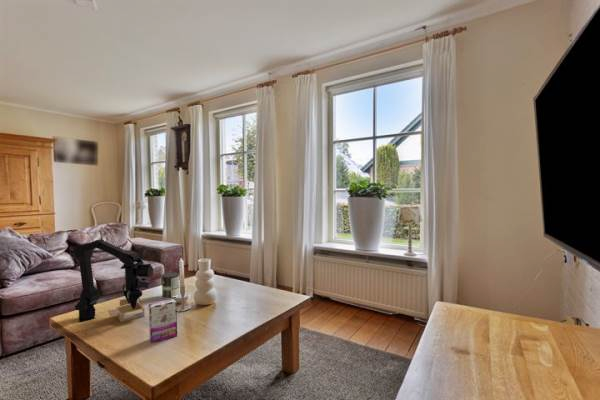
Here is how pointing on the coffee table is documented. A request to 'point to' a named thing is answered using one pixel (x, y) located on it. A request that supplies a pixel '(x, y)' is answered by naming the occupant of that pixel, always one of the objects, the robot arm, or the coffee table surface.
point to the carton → (128, 312)
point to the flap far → (140, 301)
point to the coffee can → (170, 285)
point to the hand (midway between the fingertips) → (131, 306)
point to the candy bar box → (162, 320)
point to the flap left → (123, 302)
